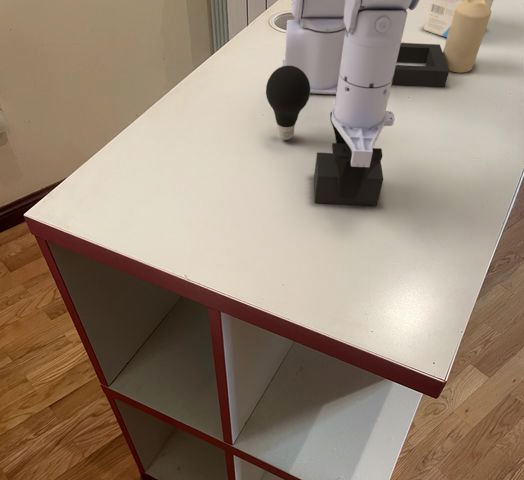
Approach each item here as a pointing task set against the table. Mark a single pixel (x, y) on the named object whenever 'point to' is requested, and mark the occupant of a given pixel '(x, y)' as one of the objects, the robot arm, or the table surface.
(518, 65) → the table surface
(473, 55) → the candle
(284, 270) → the table surface
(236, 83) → the table surface
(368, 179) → the small block
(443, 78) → the socket pad
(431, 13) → the ink box
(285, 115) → the light bulb
